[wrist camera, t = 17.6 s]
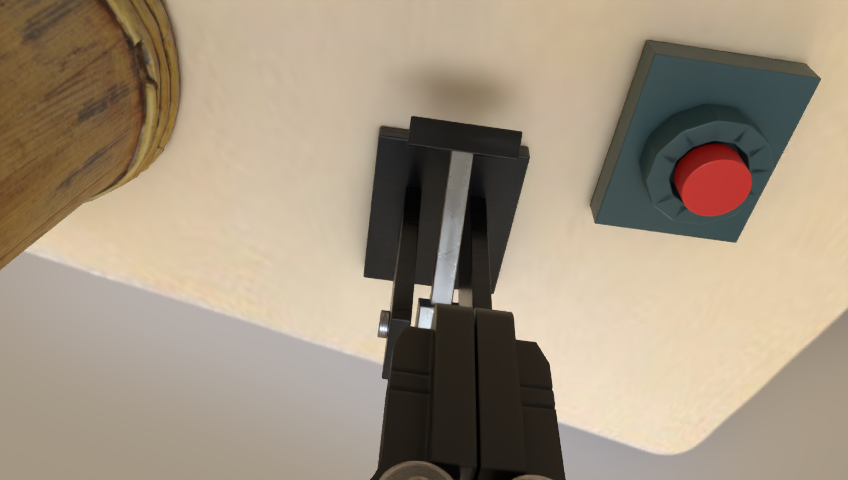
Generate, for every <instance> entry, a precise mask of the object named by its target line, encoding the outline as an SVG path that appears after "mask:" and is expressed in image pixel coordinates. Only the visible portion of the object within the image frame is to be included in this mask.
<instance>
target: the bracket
mask: <svg viewBox="0 0 848 480" xmlns="http://www.w3.org/2000/svg"><path fill="white" fill-rule="evenodd" d="M408 136H409V130H403V129H396V128H389V127H381V128H380V132H379V138H378V147H377V157H376V166H375V175H374V184H373V194H372V203H371V212H370V221H369V230H368V240H367V249H366V258H365V267H364V277H367V278H374V279H382V280H390V281H393V289H392V297H391V306H390V311H385V310H381V315H380V322H379V330H378V337H381V338H387V339H386V347H385V356H384V364H383V372H382V378H383V379H388V378H389V372H390V365H391V359H392V353H393V346H394V343H395V342H396V340H397V339H398V338H399V336H400V335H401V333H402V332H403V330H404V329H405V328H406V326H410V325H411V317H412V305H413V293H414V284H420V285H428V286H432V280H433V273H434V266H435V259H436V252H437V245H438V237H439V230H440V223H441V216H442V209H443V202H444V195H445V188H446V181H447V173H448V166H449V159H450V152H448V151H441V150H434V149H426V148H419V147H412V146H408V145H407V144H408ZM529 159H530V155H529V149H528V147H522V146H520V151H519V158H518V160H514V161H511V160H504V159H497V158H490V157H483V156H476V155H473V161H472V168H471V175H470V182H469V188H468V195H467V202H466V209H465V216H464V223H463V230H462V237H461V244H460V251H459V258H458V265H457V272H456V279H455V286H454V289H458V290H459V305H460V306H466V307H473V311H474V309H475V308H483V309H490V310H492V300H491V294H494V291H495V287H496V283H497V280H498V276H499V272H500V268H501V265H502V261H503V257H504V253H505V249H506V246H507V242H508V238H509V234H510V231H511V227H512V223H513V219H514V216H515V212H516V208H517V204H518V200H519V197H520V193H521V189H522V185H523V182H524V178H525V174H526V170H527V166H528V163H529Z"/></svg>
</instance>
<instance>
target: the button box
mask: <svg viewBox="0 0 848 480" xmlns="http://www.w3.org/2000/svg"><path fill="white" fill-rule="evenodd" d="M820 80H821V78H820V77H819V76H818V75H817V74H816V73H815V72H814V71H813V70H812V69H811V68H810V67H809V66H808V65H807V64H802V63H796V62H789V61H783V60H776V59H769V58H763V57H756V56H749V55H743V54H736V53H730V52H723V51H716V50H710V49H703V48H697V47H690V46H683V45H677V44H670V43H663V42H657V41H650V40H647V41H646V44H645V47H644V50H643V53H642V56H641V59H640V61H639V64H638V67H637V70H636V73H635V76H634V79H633V82H632V85H631V88H630V91H629V93H628V96H627V99H626V102H625V105H624V108H623V111H622V114H621V117H620V120H619V123H618V126H617V128H616V131H615V134H614V137H613V140H612V143H611V146H610V149H609V152H608V155H607V158H606V161H605V163H604V166H603V169H602V172H601V175H600V178H599V181H598V184H597V187H596V190H595V193H594V195H593V198H592V201H591V204H590V207H591V211H592V214H593V218H594V222H595V223H596V224H603V225H611V226H618V227H625V228H633V229H640V230H647V231H654V232H662V233H669V234H676V235H683V236H691V237H698V238H705V239H713V240H720V241H727V242H734V243H735V242H737V240H738V238H739V236H740V234H741V232H742V230H743V228H744V226H745V224H746V222H747V220H748V219H749V217H750V215H751V213H752V211H753V209H754V207H755V205H756V203H757V201H758V199H759V197H760V196H761V194H762V192H763V190H764V188H765V186H766V184H767V182H768V180H769V178H770V176H771V174H772V172H773V171H774V169H775V167H776V165H777V163H778V161H779V159H780V157H781V155H782V153H783V151H784V149H785V147H786V146H787V144H788V142H789V140H790V138H791V136H792V134H793V132H794V130H795V128H796V126H797V124H798V123H799V121H800V119H801V117H802V115H803V113H804V111H805V109H806V107H807V105H808V103H809V101H810V99H811V98H812V96H813V94H814V92H815V90H816V88H817V86H818V84H819V82H820ZM713 143H717V144H724V145H727V146H729V147H731V148H733V149H734V150H735V151H736V152H737V153H738V154H739V156H740V157H741V159H742V160H743V162H744V163H745V165H746V167H747V168H748V170H749V171H750V173H751V177H752V186H751V190H750V192H749V194H748V196H747V198H746V199H745V200H744V201H743V202H742V203H741V204H740V205H739V206H738V207H736V208H735V209H733V210H731V211H729V212H727V213H725V214H722V215H717V216H702V215H698V214H695V213H693V212H691V211H690V210H689V209H688V208H687V207H686V206H685V205H684V203H683V201H682V199H681V197H680V195H679V192H678V190H677V188H676V186H675V183H674V172H675V169H676V166H677V164H678V163H679V161H680V160H681V159H682V158H683V157H684V156H685V155H686V154H687V153H688V152H689V151H691V150H693V149H695V148H697V147H699V146H702V145H706V144H713Z"/></svg>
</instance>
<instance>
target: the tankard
mask: <svg viewBox="0 0 848 480" xmlns="http://www.w3.org/2000/svg"><path fill="white" fill-rule="evenodd" d="M179 87H180V80H179V71H178V62H177V53H176V48H175V44H174V39H173V34H172V29H171V25H170V22H169V20H168V17H167V15H166V12H165V10H164V7H163V5H162V3H161V2H160V0H0V270H1V269H2V268H3V267H5V266H6V265H7V264H8V263H9V262H11V261H12V260H13V259H14V258H15V257H17V256H18V255H19V254H20V253H22V252H23V251H24V250H25V249H27V248H28V247H29V246H30V245H31V244H33V243H34V242H35V241H37V240H38V239H39V238H40V237H42V236H43V235H44V234H45V233H47V232H48V231H49V230H50V229H52V228H53V227H54V226H55V225H57V224H58V223H59V222H60V221H62V220H63V219H64V218H65V217H67V216H68V215H69V214H70V213H72V212H73V211H74V210H75V209H76V208H78V207H79V206H80V205H81V204H83V203H85V202H88V201H92V200H94V199H96V198H98V197H100V196H102V195H104V194H106V193H108V192H111V191H112V190H114V189H116V188H118V187H120V186H122V185H124V184H125V183H127V182H129V181H130V180H132V179H134V178H135V177H137V176H138V175H139V174H140V173H141V172H143V171H144V170H146V169H148V167H149V166H150V165H151V164H152V163H153V162H154V160H155V159H156V158H157V157H158V156H159V155H160V154H161V153H162V152H163V151H164V147H165V145H166V144H167V142H168V141H169V139H170V136H171V133H172V130H173V127H174V123H175V118H176V113H177V108H178V104H179Z"/></svg>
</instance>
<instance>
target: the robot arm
mask: <svg viewBox="0 0 848 480" xmlns="http://www.w3.org/2000/svg"><path fill="white" fill-rule="evenodd" d="M552 387H553V386H552V379H551V372H550V365H549V362H548V361H547V359H546V357H545V356H544V354H543V353H542V351H541V349H540V348H539V346H538V345H537V343H536V342H530V341H522V340H516V338H515V327H514V317H513V313H512V312H506V311H498V310H490V309H483V308H475V309H474V311H473V307H466V306H458V305H451V304H443V303H436V304H435V308H434V313H433V318H432V323H431V328H430V329H427V328H420V327H412V326H406V328H405V329H404V330H403V332H402V333H401V335H400V336H399V338H398V339H397V340H396V342H395V343H394V346H393V353H392V359H391V365H390V372H389V378H388V385H387V391H386V398H385V407H384V416H383V417H384V418H383V425H382V435H381V443H380V452H379V461H378V469H377V471H376V473H375V474H374V476H373V477H372V478H371V479H370V480H566V479H565V473H564V466H563V459H562V451H561V445H560V437H559V430H558V422H557V415H556V410H555V401H554V393H553V391H552Z"/></svg>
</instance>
